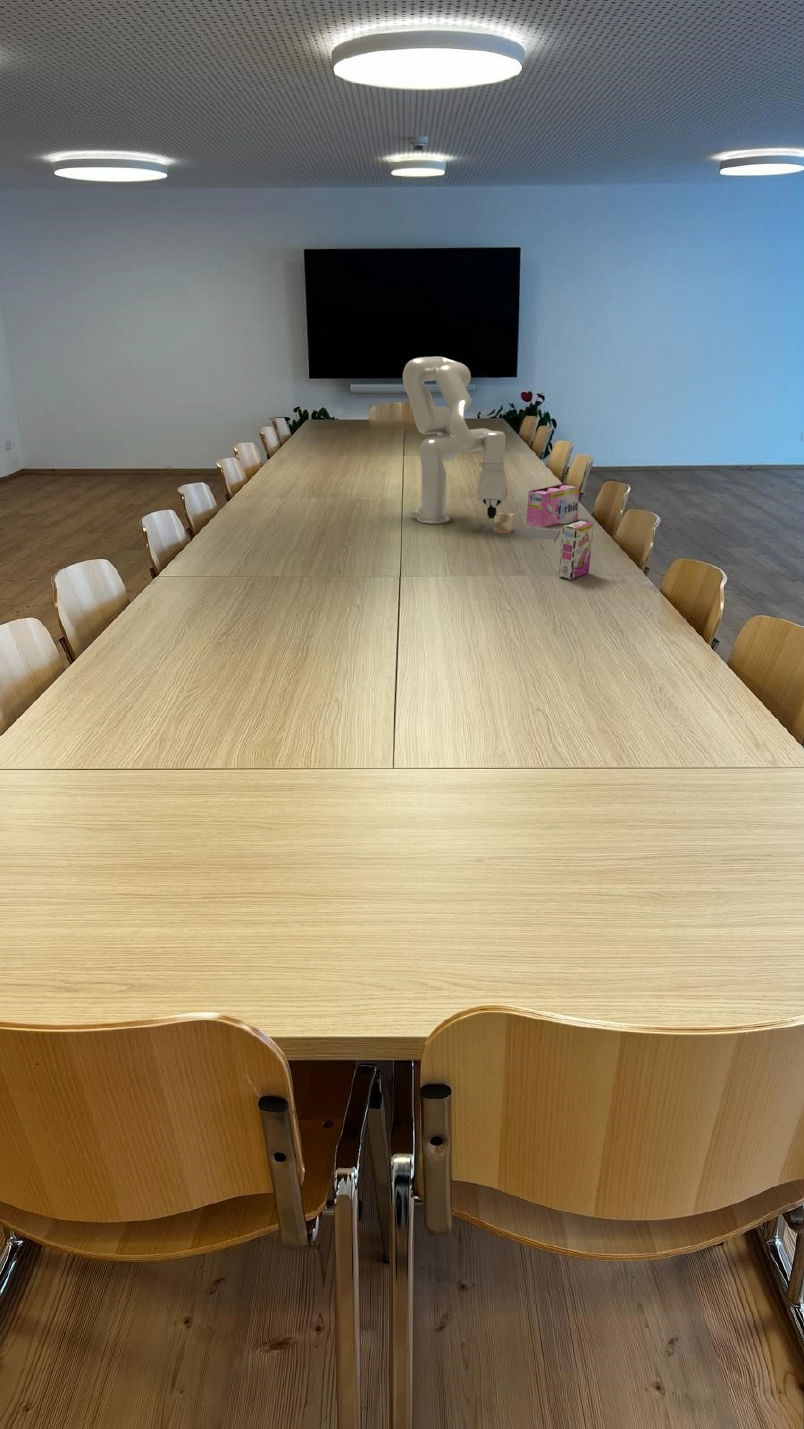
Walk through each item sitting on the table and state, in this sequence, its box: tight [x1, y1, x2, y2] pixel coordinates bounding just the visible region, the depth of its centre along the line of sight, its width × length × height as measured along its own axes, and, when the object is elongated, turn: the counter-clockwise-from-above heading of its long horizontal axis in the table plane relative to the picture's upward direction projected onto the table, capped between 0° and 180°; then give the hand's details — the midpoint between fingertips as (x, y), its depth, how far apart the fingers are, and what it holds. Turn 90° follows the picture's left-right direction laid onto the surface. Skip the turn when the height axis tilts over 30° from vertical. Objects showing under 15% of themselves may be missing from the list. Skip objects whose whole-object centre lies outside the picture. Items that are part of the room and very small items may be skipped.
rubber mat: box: [477, 525, 561, 543], centre depth 357 cm, size 28×14×1 cm, turn 74°
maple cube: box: [493, 512, 515, 534], centre depth 357 cm, size 6×6×6 cm
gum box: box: [526, 483, 580, 528], centre depth 373 cm, size 24×8×14 cm, turn 134°
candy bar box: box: [558, 520, 595, 581], centre depth 305 cm, size 11×5×16 cm, turn 141°
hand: (491, 517), depth 358 cm, fingers closed
